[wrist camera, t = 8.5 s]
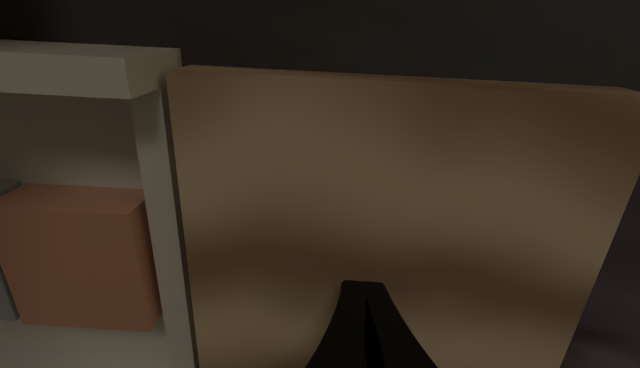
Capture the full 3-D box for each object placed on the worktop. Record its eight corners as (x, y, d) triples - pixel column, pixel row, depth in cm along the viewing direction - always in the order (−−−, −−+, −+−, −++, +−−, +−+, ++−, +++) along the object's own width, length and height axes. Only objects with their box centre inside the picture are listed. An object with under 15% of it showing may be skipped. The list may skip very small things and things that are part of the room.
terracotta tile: (172, 296, 16) (150, 332, 14) (58, 289, 16) (22, 323, 14) (155, 189, 14) (127, 214, 12) (25, 182, 14) (-22, 207, 12)
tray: (212, 374, 18) (185, 449, 15) (-46, 354, 19) (-125, 422, 16) (180, 48, 12) (124, 57, 9) (-197, 29, 13) (-377, 31, 10)
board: (512, 390, 18) (532, 433, 16) (218, 367, 18) (204, 406, 16) (620, 87, 12) (670, 98, 10) (191, 64, 13) (165, 72, 11)
